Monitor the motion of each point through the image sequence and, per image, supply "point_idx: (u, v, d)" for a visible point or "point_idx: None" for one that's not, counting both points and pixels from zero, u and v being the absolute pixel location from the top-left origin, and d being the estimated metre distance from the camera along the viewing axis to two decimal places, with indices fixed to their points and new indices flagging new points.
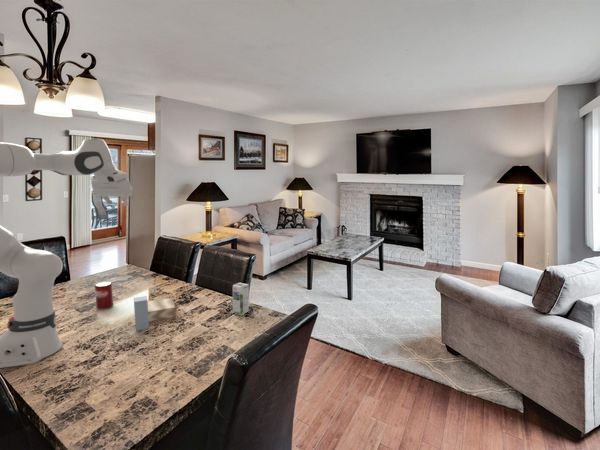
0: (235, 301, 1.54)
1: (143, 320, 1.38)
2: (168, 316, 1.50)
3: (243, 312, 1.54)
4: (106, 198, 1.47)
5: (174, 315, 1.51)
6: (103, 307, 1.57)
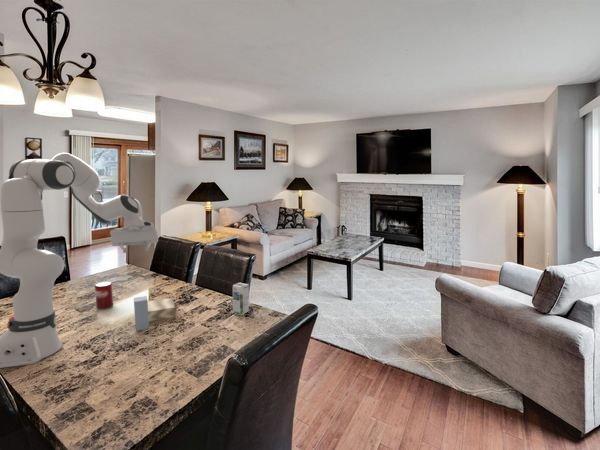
0: (235, 301, 1.54)
1: (143, 320, 1.38)
2: (168, 316, 1.50)
3: (243, 312, 1.54)
4: None
5: (174, 315, 1.51)
6: (103, 307, 1.57)
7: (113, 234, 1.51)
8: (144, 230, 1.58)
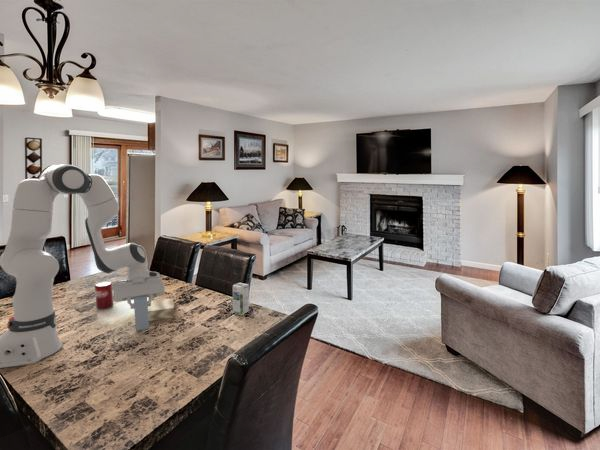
0: (235, 301, 1.54)
1: (143, 320, 1.38)
2: (167, 316, 1.50)
3: (243, 312, 1.54)
4: None
5: (173, 316, 1.51)
6: (103, 307, 1.57)
7: (116, 288, 1.38)
8: (149, 282, 1.45)
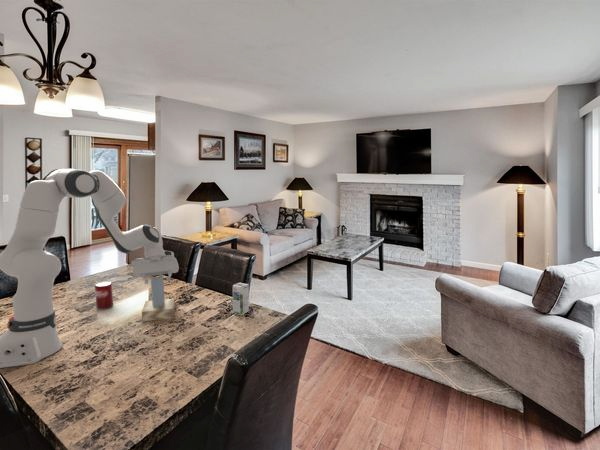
0: (235, 301, 1.54)
1: (160, 297, 1.51)
2: (165, 317, 1.49)
3: (243, 312, 1.54)
4: None
5: (171, 316, 1.50)
6: (103, 307, 1.57)
7: (135, 265, 1.51)
8: (165, 260, 1.58)
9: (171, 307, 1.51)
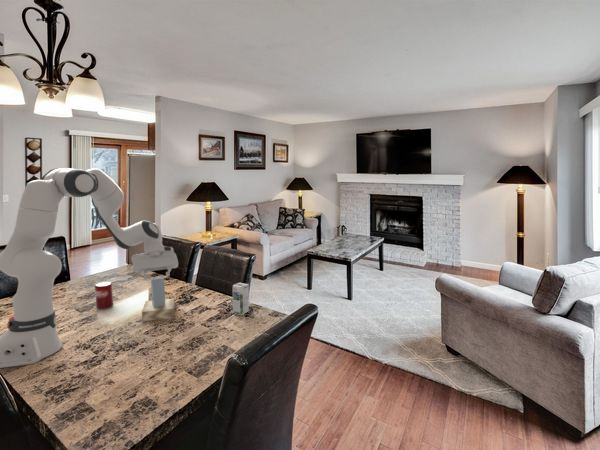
0: (235, 301, 1.54)
1: (160, 297, 1.51)
2: (165, 317, 1.49)
3: (243, 312, 1.54)
4: None
5: (171, 316, 1.50)
6: (103, 307, 1.57)
7: (134, 260, 1.52)
8: (164, 255, 1.59)
9: (171, 307, 1.51)
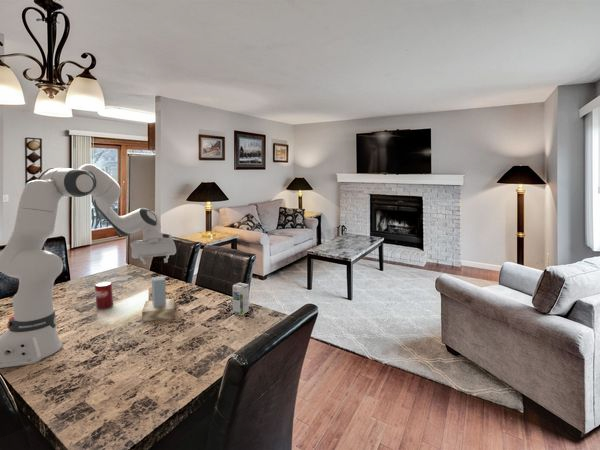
0: (235, 301, 1.54)
1: (161, 297, 1.51)
2: (165, 317, 1.49)
3: (243, 312, 1.54)
4: None
5: (172, 316, 1.50)
6: (103, 307, 1.57)
7: (133, 246, 1.56)
8: (163, 242, 1.63)
9: (171, 307, 1.51)
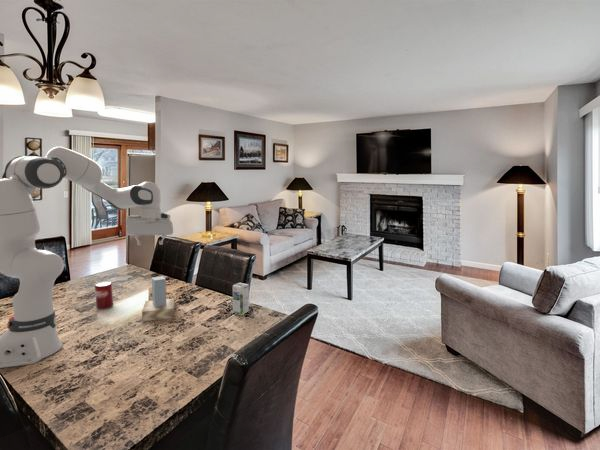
0: (235, 301, 1.54)
1: (162, 297, 1.51)
2: (165, 317, 1.49)
3: (243, 312, 1.54)
4: (137, 238, 1.51)
5: (172, 316, 1.50)
6: (103, 307, 1.57)
7: (129, 224, 1.49)
8: (160, 222, 1.55)
9: (171, 307, 1.51)
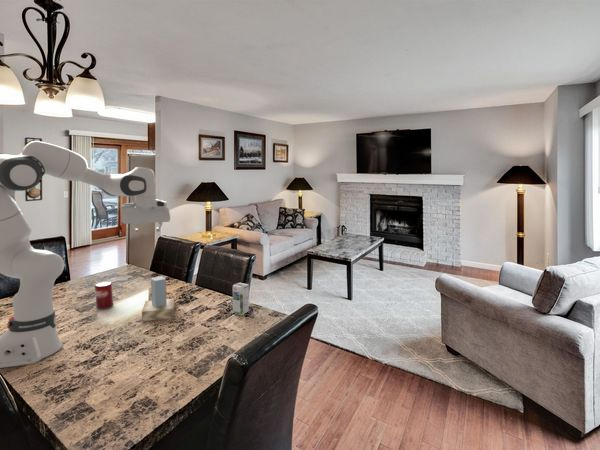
0: (235, 301, 1.54)
1: (162, 297, 1.52)
2: (165, 317, 1.49)
3: (243, 312, 1.54)
4: None
5: (171, 316, 1.50)
6: (103, 307, 1.57)
7: (124, 213, 1.44)
8: (156, 210, 1.50)
9: (171, 307, 1.51)
